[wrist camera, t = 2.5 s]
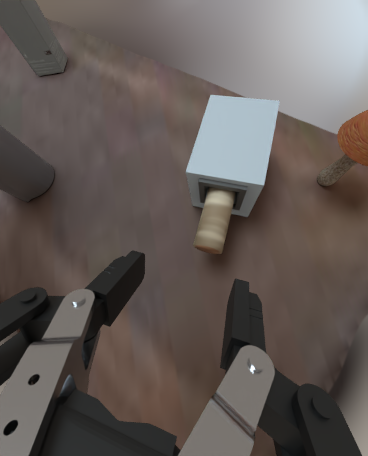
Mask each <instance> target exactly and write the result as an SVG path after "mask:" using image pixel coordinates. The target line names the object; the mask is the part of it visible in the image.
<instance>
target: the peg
mask: <svg viewBox="0 0 368 456" xmlns="http://www.w3.org/2000/svg"><path fill="white" fill-rule="evenodd" d="M235 194H236V191H230V190H225V189H219V188H214V187H209V189H208V193H207V197H206V200H205V204H204V207H203V211H202V215H201V218H200V222H199V226H198V229H197V233H196V236H195V240H194V244H193V246H194V247H195V248H197V249H199V250H201V251H204V252H208V253H212V254H222V251H223V247H224V242H225V238H226V234H227V229H228V225H229V221H230V216H231V212H232V208H233V203H234V199H235Z"/></svg>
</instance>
